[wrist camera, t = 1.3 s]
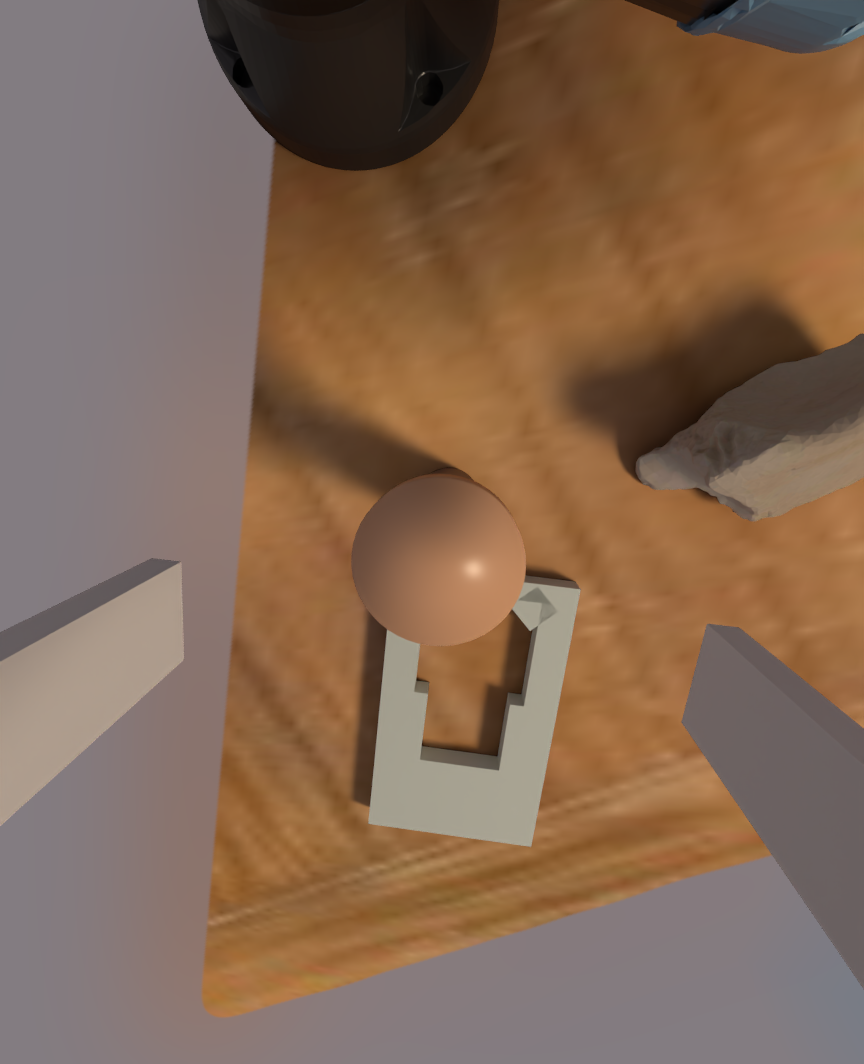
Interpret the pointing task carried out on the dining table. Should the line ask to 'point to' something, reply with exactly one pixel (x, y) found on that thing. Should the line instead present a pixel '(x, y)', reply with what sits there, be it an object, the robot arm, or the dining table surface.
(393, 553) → the peg
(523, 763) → the keyhole board
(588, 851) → the dining table surface
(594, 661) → the dining table surface
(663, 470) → the decorative stone
